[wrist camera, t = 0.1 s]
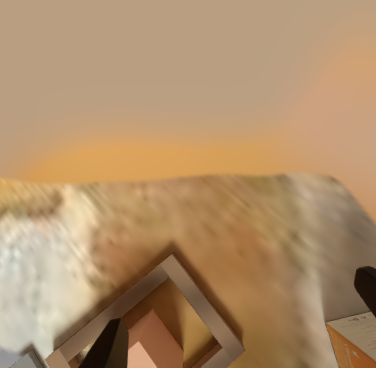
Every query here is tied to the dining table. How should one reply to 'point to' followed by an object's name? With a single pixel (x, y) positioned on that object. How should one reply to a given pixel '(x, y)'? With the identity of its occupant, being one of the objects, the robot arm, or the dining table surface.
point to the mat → (28, 361)
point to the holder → (170, 267)
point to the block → (152, 345)
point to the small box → (354, 340)
